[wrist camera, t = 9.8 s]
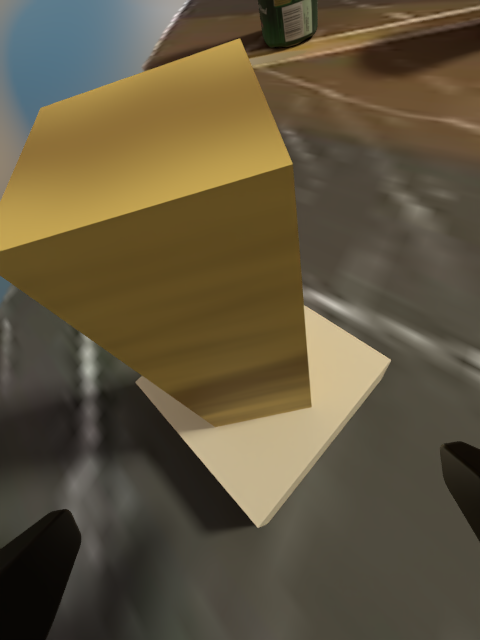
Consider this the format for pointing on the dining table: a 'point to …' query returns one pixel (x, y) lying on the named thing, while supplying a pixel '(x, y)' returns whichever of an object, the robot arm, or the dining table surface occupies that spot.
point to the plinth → (281, 423)
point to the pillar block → (169, 233)
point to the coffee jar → (287, 21)
